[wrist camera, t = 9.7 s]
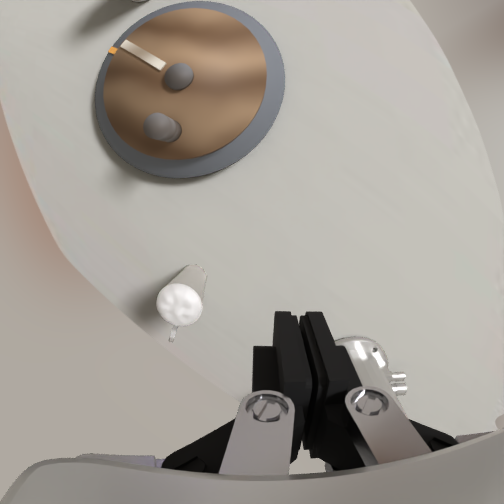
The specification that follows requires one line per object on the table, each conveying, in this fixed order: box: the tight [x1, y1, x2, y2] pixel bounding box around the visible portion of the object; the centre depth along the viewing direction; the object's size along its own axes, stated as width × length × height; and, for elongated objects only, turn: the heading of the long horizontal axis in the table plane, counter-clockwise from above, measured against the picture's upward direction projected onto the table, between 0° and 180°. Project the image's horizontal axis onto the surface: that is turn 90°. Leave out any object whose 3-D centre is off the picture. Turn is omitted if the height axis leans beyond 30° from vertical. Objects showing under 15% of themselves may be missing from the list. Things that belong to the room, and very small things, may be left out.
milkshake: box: [156, 265, 207, 342], centre depth 32 cm, size 4×5×10 cm
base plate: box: [95, 1, 285, 178], centre depth 30 cm, size 22×22×2 cm
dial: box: [103, 8, 267, 160], centre depth 26 cm, size 18×18×6 cm
